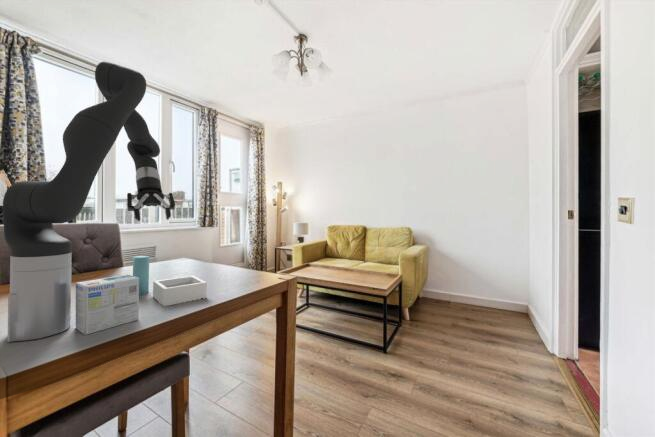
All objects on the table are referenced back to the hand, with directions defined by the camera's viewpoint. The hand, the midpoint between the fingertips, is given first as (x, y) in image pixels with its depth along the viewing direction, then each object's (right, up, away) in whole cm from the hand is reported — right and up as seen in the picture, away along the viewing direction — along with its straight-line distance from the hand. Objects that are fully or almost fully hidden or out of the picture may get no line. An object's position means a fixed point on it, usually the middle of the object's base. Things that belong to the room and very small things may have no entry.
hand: (153, 219), depth 93 cm
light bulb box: (+8, -25, -29) cm, 40 cm away
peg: (-1, -25, -5) cm, 25 cm away
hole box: (+14, -25, -8) cm, 29 cm away
